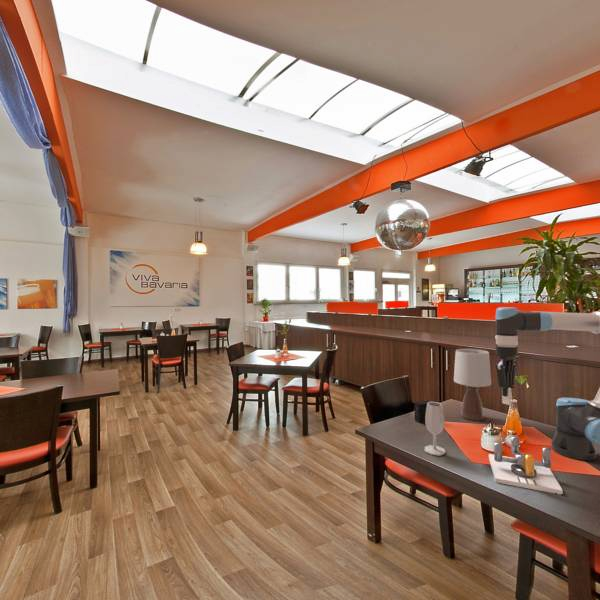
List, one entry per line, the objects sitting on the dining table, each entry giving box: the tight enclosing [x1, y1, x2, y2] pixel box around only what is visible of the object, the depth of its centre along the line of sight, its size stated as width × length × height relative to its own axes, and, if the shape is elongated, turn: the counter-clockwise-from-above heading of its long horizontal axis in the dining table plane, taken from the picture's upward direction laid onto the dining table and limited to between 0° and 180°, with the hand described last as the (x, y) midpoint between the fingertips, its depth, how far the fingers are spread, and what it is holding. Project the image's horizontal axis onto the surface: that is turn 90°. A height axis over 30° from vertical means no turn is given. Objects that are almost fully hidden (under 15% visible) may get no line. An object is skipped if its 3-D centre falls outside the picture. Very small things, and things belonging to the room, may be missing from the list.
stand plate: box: [488, 453, 564, 495], centre depth 127 cm, size 20×20×2 cm
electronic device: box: [414, 400, 432, 424], centre depth 181 cm, size 4×10×10 cm, turn 107°
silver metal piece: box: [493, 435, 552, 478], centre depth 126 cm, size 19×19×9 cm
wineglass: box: [424, 401, 446, 457], centre depth 145 cm, size 9×9×21 cm
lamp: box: [453, 348, 492, 422], centre depth 185 cm, size 19×19×37 cm
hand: (506, 403), depth 134 cm, fingers closed
